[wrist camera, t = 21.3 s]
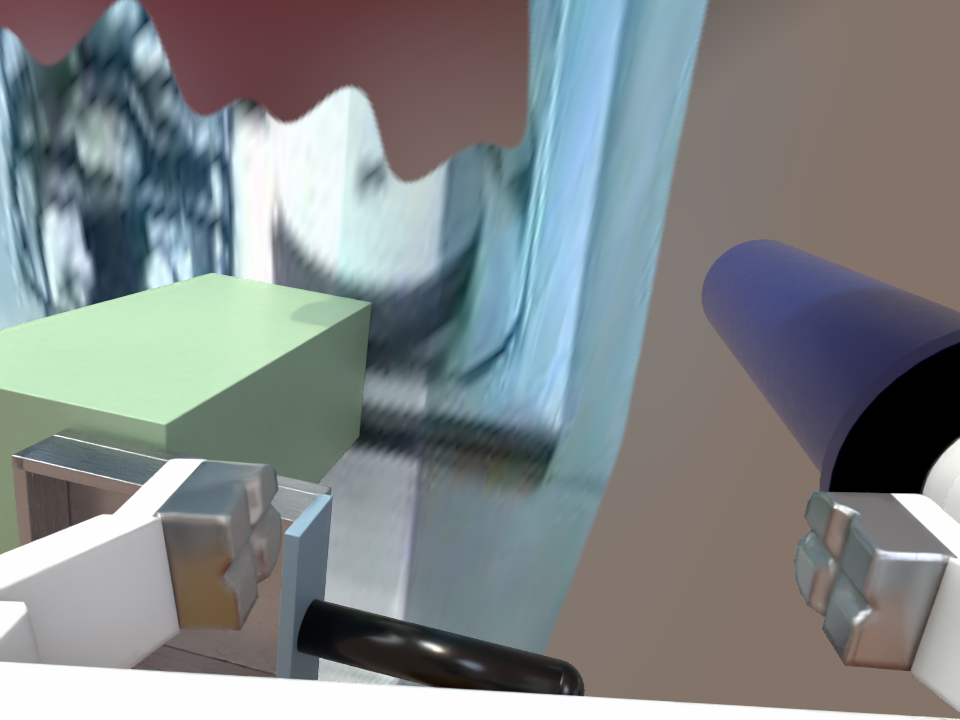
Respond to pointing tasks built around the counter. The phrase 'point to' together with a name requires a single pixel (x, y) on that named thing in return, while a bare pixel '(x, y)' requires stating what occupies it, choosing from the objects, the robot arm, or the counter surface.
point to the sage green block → (191, 377)
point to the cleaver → (270, 585)
